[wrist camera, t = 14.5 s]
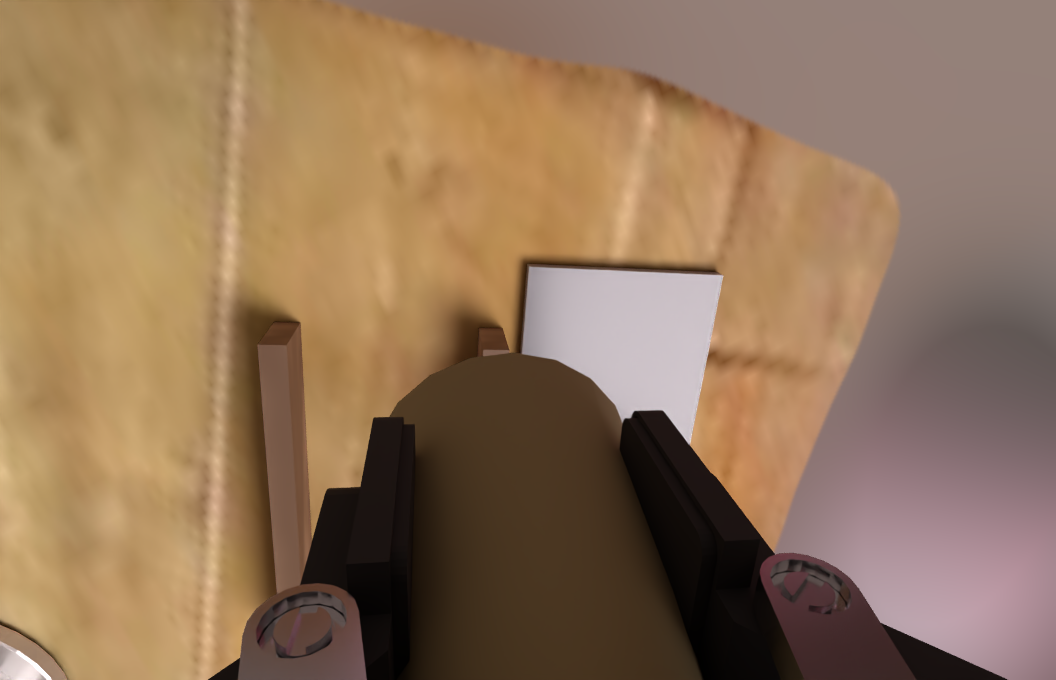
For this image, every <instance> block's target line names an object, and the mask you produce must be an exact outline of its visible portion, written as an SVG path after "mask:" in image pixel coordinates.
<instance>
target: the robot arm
mask: <svg viewBox="0 0 1056 680" xmlns="http://www.w3.org/2000/svg"><path fill="white" fill-rule="evenodd" d="M619 449H620V452H621V455H622V457H623V460H624V463H625V465H626V468H627V470H628V473H629V476H630V478H631V481H632V484H633V486H634V489H635V492H636V494H637V497H638V500H639V502H640V505H641V507H642V510H643V513H644V515H645V518H646V521H647V523H648V526H649V529H650V531H651V534H652V536H653V539H654V542H655V544H656V547H657V550H658V552H659V555H660V558H661V560H662V563H663V566H664V568H665V571H666V573H667V576H668V579H669V581H670V584H671V587H672V589H673V592H674V595H675V598H676V601H677V604H678V607H679V610H680V613H681V616H682V619H683V622H684V625H685V628H686V631H687V634H688V637H689V640H690V642H691V645H692V647H693V649H694V652H695V654H696V657H697V659H698V663H699V666H700V669H701V672H702V675H703V678H704V680H1007V679H1005V678H1003V677H1001V676H999V675H996V674H994V673H992V672H989V671H987V670H985V669H983V668H980V667H978V666H976V665H974V664H972V663H969V662H967V661H965V660H963V659H960V658H958V657H956V656H954V655H951V654H949V653H947V652H945V651H943V650H940V649H938V648H936V647H934V646H931V645H929V644H927V643H925V642H922V641H920V640H918V639H915V638H913V637H911V636H909V635H907V634H904V633H902V632H900V631H897V630H896V629H893V628H891V627H889V626H887V625H884V624H882V623H880V621H879V620H878V618H877V616H876V615H875V613H874V612H873V610H872V609H871V607H870V605H869V604H868V602H867V601H866V599H865V597H864V596H863V594H862V593H861V591H860V590H859V588H858V587H857V586H856V585H855V583H854V582H853V581H852V580H851V579H850V578H849V577H848V576H847V575H846V574H844V573H843V572H842V571H840V570H839V569H838V568H836V567H834V566H832V565H830V564H829V563H827V562H825V561H823V560H820V559H817V558H814V557H811V556H808V555H803V554H797V553H779V554H776V555H775V554H774V552H773V551H772V550H771V549H770V547H769V546H768V545H767V543H766V542H765V541H764V539H763V538H762V537H761V535H760V534H759V533H758V531H757V530H756V529H755V528H754V526H753V525H752V524H751V522H750V521H749V520H748V518H747V517H746V516H745V514H744V513H743V512H742V510H741V509H740V508H739V507H738V505H737V504H736V503H735V501H734V500H733V499H732V497H731V496H730V495H729V493H728V492H727V491H726V489H725V488H724V487H723V486H722V484H721V483H720V482H719V480H718V479H717V478H716V477H715V476H714V475H713V474H712V473H710V471H709V470H708V469H707V468H706V466H705V465H704V464H703V462H702V461H701V460H700V458H699V457H698V456H697V454H696V453H695V452H694V450H693V449H692V448H691V446H690V445H689V444H688V442H687V441H686V440H685V438H684V437H683V436H682V434H681V433H680V432H679V430H678V429H677V428H676V426H675V425H674V424H673V422H672V421H671V420H670V419H669V417H668V416H667V415H666V413H665V412H664V411H663V410H648V411H634V412H633V413H632V416H631V418H625V419H624V420H623V423H622V431H621V439H620V448H619ZM415 458H416V452H415V424H404V418H403V417H377V418H374V419H373V423H372V428H371V434H370V439H369V444H368V450H367V455H366V460H365V465H364V471H363V476H362V481H361V487H351V488H329V489H327V491H326V493H325V496H324V500H323V504H322V507H321V511H320V514H319V518H318V522H317V525H316V529H315V533H314V536H313V540H312V543H311V547H310V551H309V554H308V558H307V561H306V565H305V569H304V572H303V576H302V580H301V583H300V585H299V586H296V587H293V588H289V589H286V590H284V591H282V592H280V593H278V594H276V595H274V596H272V597H270V598H269V599H268V600H266V601H265V602H264V603H263V604H262V605H260V606H259V607H258V608H257V609H256V610H255V611H254V613H253V614H252V615H251V617H250V618H249V620H248V621H247V623H246V626H245V629H244V633H243V636H242V646H241V655H240V658H239V659H238V660H236V661H235V662H233V663H232V664H230V665H229V666H227V667H226V668H224V669H223V670H221V671H220V672H218V673H217V674H216V675H214V676H213V677H211V678H210V679H208V680H397V678H398V677H399V675H400V674H401V672H402V671H403V670H404V668H405V667H406V665H407V664H408V662H409V659H410V623H411V587H412V551H413V520H414V489H415ZM0 680H67V678H66V676H65V674H64V672H63V671H62V669H61V668H60V667H59V666H58V664H57V663H56V662H55V661H54V659H53V658H52V657H51V656H50V655H49V654H48V653H46V652H45V651H44V650H43V649H42V648H41V647H39V646H38V645H37V644H36V643H34V642H33V641H31V640H29V639H28V638H26V637H24V636H23V635H21V634H20V633H18V632H16V631H13V630H11V629H9V628H7V627H4V626H2V625H0Z"/></svg>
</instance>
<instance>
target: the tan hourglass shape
mask: <svg viewBox="0 0 1056 680" xmlns="http://www.w3.org/2000/svg"><path fill="white" fill-rule="evenodd" d="M390 417H403V418H404V424H415V452H416V458H415V489H414V520H413V551H412V587H411V623H410V659H409V662H408V664H407V665H406V667H405V668H404V670H403V671H402V672H401V674H400V675H399V677H398V678H397V680H704V678H703V675H702V672H701V669H700V666H699V663H698V659H697V657H696V654H695V652H694V649H693V647H692V645H691V642H690V640H689V637H688V634H687V631H686V628H685V625H684V622H683V619H682V616H681V613H680V610H679V607H678V604H677V601H676V598H675V595H674V592H673V589H672V587H671V584H670V581H669V579H668V576H667V573H666V571H665V568H664V566H663V563H662V560H661V558H660V555H659V552H658V550H657V547H656V544H655V542H654V539H653V536H652V534H651V531H650V529H649V526H648V523H647V521H646V518H645V515H644V513H643V510H642V507H641V505H640V502H639V500H638V497H637V494H636V492H635V489H634V486H633V484H632V481H631V478H630V476H629V473H628V470H627V468H626V465H625V463H624V460H623V457H622V455H621V452H620V449H619V448H620V439H621V431H622V421H621V418H620V416H619V413H618V410H617V408H616V405H615V404H614V403H613V402H612V401H611V400H610V399H609V398H608V397H607V396H606V394H605V393H604V392H603V391H602V390H601V389H600V388H599V387H598V386H597V385H596V383H595V382H594V381H593V380H592V379H591V378H589V377H587V376H585V375H584V374H582V373H580V372H578V371H576V370H574V369H572V368H570V367H568V366H567V365H565V364H563V363H561V362H559V361H557V360H554V359H548V358H543V357H537V356H531V355H526V354H520V353H506V354H498V355H489V356H481V357H473V358H469V359H466V360H464V361H462V362H460V363H457V364H455V365H453V366H450V367H448V368H446V369H443V370H441V371H439V372H436V373H434V374H432V375H430V376H429V377H427V378H426V379H425V380H424V381H423V382H422V383H420V384H419V385H418V386H417V387H416V388H415V389H413V390H412V391H411V392H410V393H409V394H408V395H406V396H405V397H404V398H403V399H402V400H401V401H399V402H398V403H397V405H396V407H395V408H394V410H393V412H392V413H391V415H390Z"/></svg>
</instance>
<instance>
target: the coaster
mask: <svg viewBox="0 0 1056 680" xmlns="http://www.w3.org/2000/svg"><path fill="white" fill-rule="evenodd" d="M722 279H723V275H722V274H720V273H718V272H698V271H676V270H654V269H632V268H610V267H588V266H566V265H544V264H527V274H526V286H525V299H524V311H523V323H522V335H521V348H520V354H526V355H531V356H537V357H543V358H548V359H554V360H557V361H559V362H561V363H563V364H565V365H567V366H568V367H570V368H572V369H574V370H576V371H578V372H580V373H582V374H584V375H585V376H587V377H589V378H591V379H592V380H593V381H594V382H595V383H596V385H597V386H598V387H599V388H600V389H601V390H602V391H603V392H604V393H605V394H606V396H607V397H608V398H609V399H610V400H611V401H612V402H613V403H614V404H615V405H616V408H617V410H618V413H619V416H620V418H621V421H622V423H623V420H624V419H625V418H631V416H632V413H633V412H634V411H648V410H663V411H664V412H665V413H666V415H667V416H668V417H669V419H670V420H671V421H672V422H673V424H674V425H675V426H676V428H677V429H678V430H679V432H680V433H681V434H682V436H683V437H684V438H685V440H686V441H687V442H688V444H689V445H690V442H691V437H692V432H693V427H694V421H695V416H696V411H697V406H698V401H699V396H700V391H701V386H702V381H703V376H704V371H705V365H706V360H707V355H708V350H709V345H710V340H711V335H712V330H713V325H714V320H715V315H716V309H717V304H718V299H719V294H720V289H721V284H722Z"/></svg>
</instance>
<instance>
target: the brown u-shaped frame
mask: <svg viewBox="0 0 1056 680" xmlns="http://www.w3.org/2000/svg"><path fill="white" fill-rule="evenodd" d="M506 353H509V348H508V344H507V341H506V338H505V335H504V331H503V328H479V335H478V353H477V357H481V356H489V355H498V354H506ZM258 358H259V371H260V384H261V396H262V409H263V422H264V435H265V447H266V460H267V473H268V486H269V498H270V511H271V524H272V537H273V549H274V562H275V575H276V588H277V594H278V593H280V592H282V591H284V590H286V589H289V588H293V587H296V586H299V585H300V583H301V580H302V576H303V572H304V569H305V565H306V561H307V558H308V554H309V551H310V547H311V543H312V538H311V519H310V499H309V480H308V461H307V441H306V422H305V402H304V383H303V364H302V344H301V325H300V323H292V322H274V323H273V324H272V326H271V327H270V328H269V330H268V331H267V332H266V334H265V335H264V336H263V338H262V339H261V341H260V342H259V343H258Z"/></svg>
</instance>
